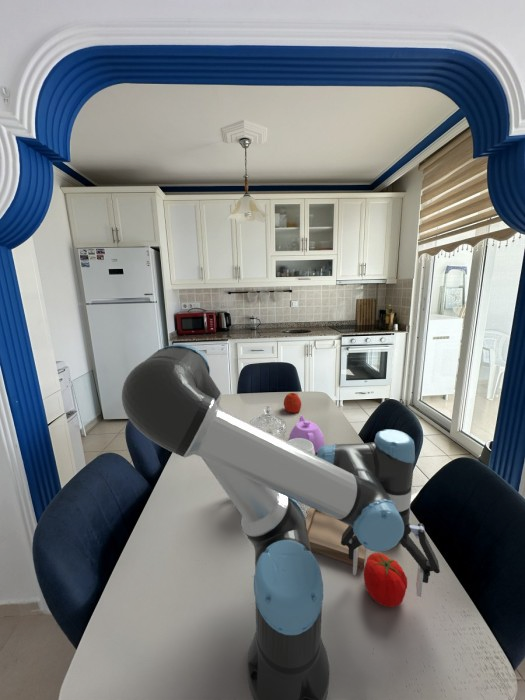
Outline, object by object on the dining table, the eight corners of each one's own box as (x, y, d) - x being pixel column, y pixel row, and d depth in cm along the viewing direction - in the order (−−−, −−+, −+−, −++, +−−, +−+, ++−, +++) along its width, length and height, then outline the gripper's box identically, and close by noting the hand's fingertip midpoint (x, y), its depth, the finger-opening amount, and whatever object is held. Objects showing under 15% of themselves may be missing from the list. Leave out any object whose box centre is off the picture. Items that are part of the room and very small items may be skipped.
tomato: (379, 621, 64) (382, 590, 62) (352, 577, 74) (354, 549, 72) (415, 608, 66) (419, 578, 64) (385, 567, 76) (387, 540, 74)
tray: (363, 568, 76) (364, 559, 75) (299, 547, 82) (299, 538, 81) (368, 520, 91) (369, 512, 90) (313, 505, 97) (313, 497, 97)
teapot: (331, 459, 123) (332, 432, 120) (293, 461, 121) (293, 434, 119) (316, 433, 144) (317, 409, 142) (284, 435, 143) (284, 411, 140)
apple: (280, 408, 173) (280, 391, 171) (297, 406, 176) (297, 389, 174) (287, 415, 164) (287, 397, 161) (304, 412, 167) (304, 395, 164)
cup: (313, 494, 103) (314, 454, 99) (282, 490, 105) (282, 451, 101) (314, 474, 113) (315, 438, 110) (286, 471, 115) (286, 436, 112)
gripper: (455, 503, 63) (445, 584, 68) (335, 477, 73) (333, 549, 77) (462, 530, 56) (451, 618, 61) (329, 498, 66) (328, 575, 71)
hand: (385, 580), depth 69 cm, fingers open, 13 cm apart
